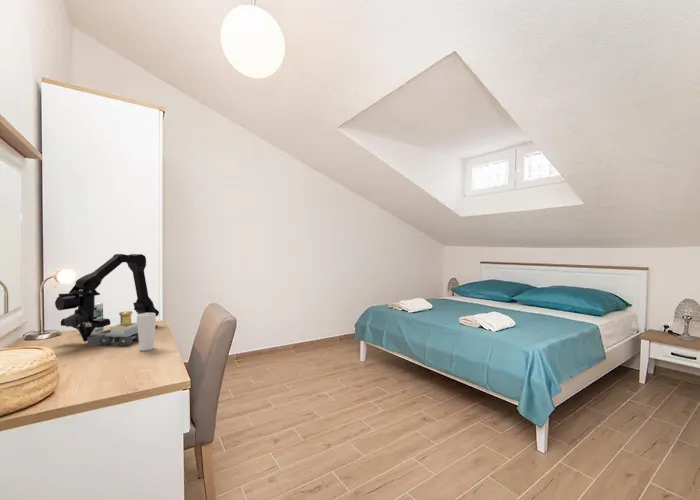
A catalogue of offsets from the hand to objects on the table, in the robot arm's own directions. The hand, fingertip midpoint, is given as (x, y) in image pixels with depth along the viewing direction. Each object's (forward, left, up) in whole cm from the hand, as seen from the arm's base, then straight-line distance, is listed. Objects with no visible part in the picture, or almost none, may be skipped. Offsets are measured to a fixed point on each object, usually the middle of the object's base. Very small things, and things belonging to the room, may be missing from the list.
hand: (85, 341), depth 143 cm
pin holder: (-13, 0, -1) cm, 13 cm away
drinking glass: (+4, +31, -1) cm, 32 cm away
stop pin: (-5, +15, +4) cm, 16 cm away
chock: (-2, +4, -1) cm, 5 cm away
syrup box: (-18, -13, -1) cm, 22 cm away
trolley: (-4, +15, -1) cm, 16 cm away
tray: (-5, +15, +4) cm, 16 cm away
